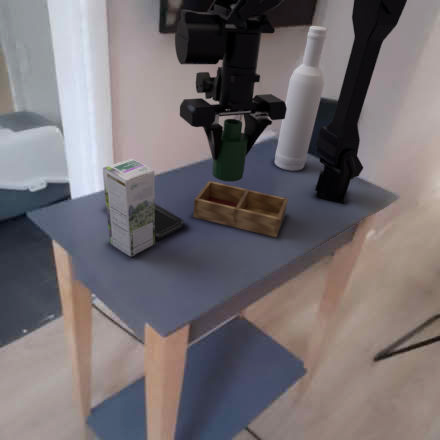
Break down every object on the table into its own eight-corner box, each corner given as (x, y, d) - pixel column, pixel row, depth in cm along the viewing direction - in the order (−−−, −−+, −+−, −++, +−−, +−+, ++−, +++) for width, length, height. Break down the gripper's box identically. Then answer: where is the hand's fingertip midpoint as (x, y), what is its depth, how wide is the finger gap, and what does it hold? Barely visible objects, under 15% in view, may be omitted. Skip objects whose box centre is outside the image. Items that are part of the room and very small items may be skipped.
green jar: (246, 171, 78) (253, 120, 72) (238, 184, 74) (245, 130, 67) (217, 165, 79) (222, 113, 73) (208, 177, 75) (212, 123, 68)
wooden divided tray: (284, 215, 82) (288, 198, 80) (276, 237, 76) (280, 219, 73) (207, 197, 85) (208, 180, 82) (193, 217, 79) (194, 199, 76)
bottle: (271, 167, 100) (296, 26, 80) (276, 155, 106) (302, 22, 86) (301, 173, 99) (336, 32, 79) (306, 162, 104) (338, 27, 84)
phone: (155, 236, 70) (103, 204, 77) (155, 242, 71) (104, 209, 78) (186, 221, 75) (135, 191, 81) (186, 226, 76) (135, 196, 82)
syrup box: (134, 232, 73) (129, 156, 63) (156, 245, 70) (154, 168, 61) (109, 244, 69) (100, 165, 60) (131, 259, 67) (126, 179, 57)
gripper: (261, 52, 73) (249, 136, 83) (167, 53, 65) (167, 145, 76) (296, 67, 66) (279, 158, 76) (195, 70, 58) (191, 170, 69)
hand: (229, 157), depth 74 cm, fingers closed on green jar, 6 cm apart
